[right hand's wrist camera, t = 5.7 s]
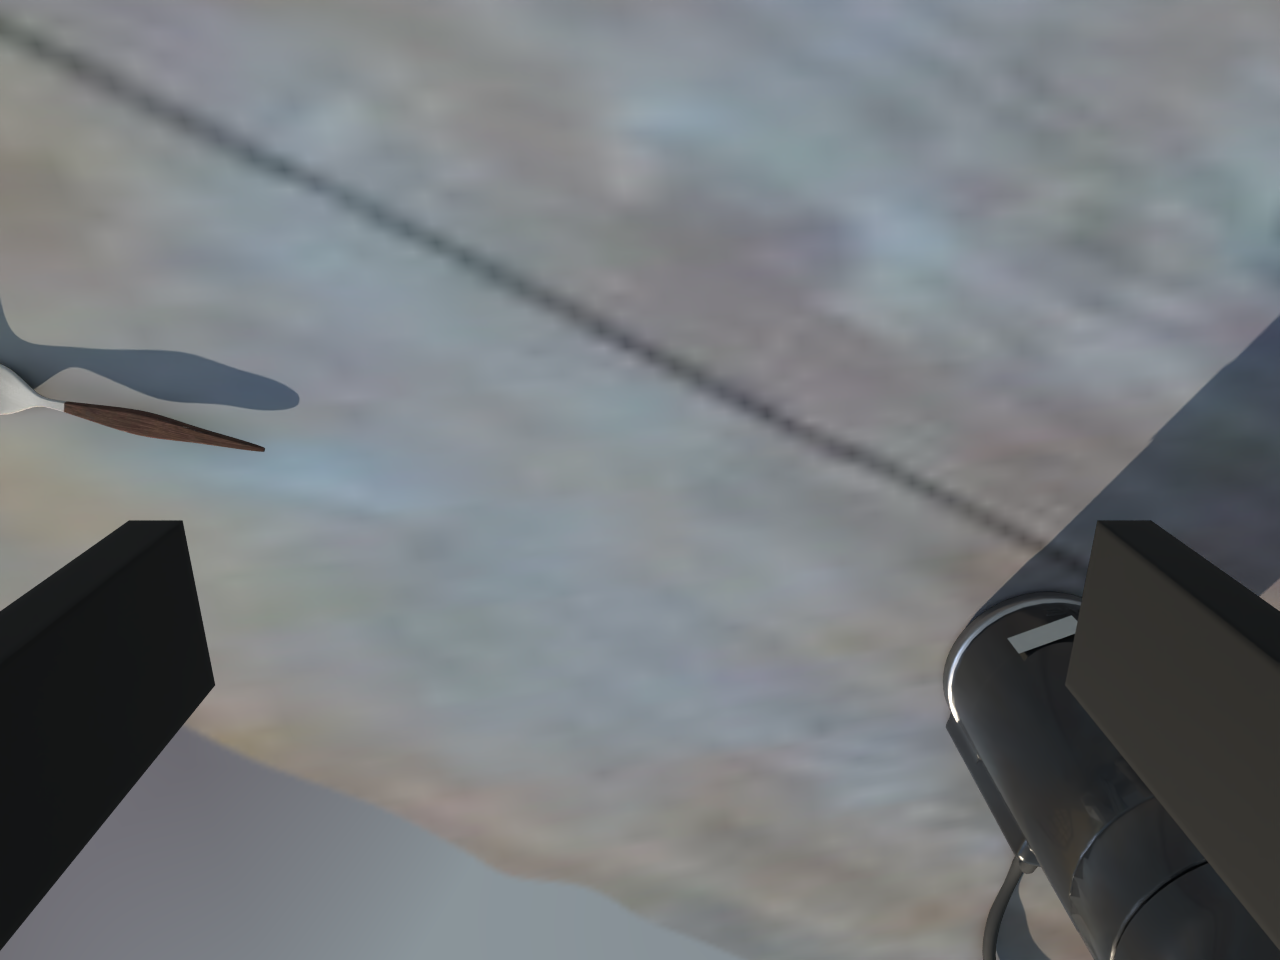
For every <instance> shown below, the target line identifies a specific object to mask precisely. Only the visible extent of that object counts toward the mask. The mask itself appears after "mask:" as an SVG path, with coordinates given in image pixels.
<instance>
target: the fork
mask: <svg viewBox="0 0 1280 960" xmlns="http://www.w3.org/2000/svg"><path fill="white" fill-rule="evenodd" d="M37 406H42V407H48V408H52V409H56V410H59V411H63V412H66V413H69V414H72V415H75V416H78V417H81V418H84V419H87V420H90V421H93V422H96V423H99V424H102V425H105V426H108V427H111V428H115V429H118V430H121V431H124V432H128V433H132V434H136V435H140V436H146V437H152V438H159V439H167V440H175V441H184V442H192V443H200V444H207V445H214V446H221V447H228V448H235V449H243V450H251V451H261V452H264V451H265V448H264V447H261V446H259V445H256V444H252V443H249V442H246V441H243V440H239V439H236V438H233V437H229V436H226V435H222V434H219V433H215V432H212V431H208V430H205V429H202V428H198V427H195V426H192V425H189V424H186V423H183V422H180V421H177V420H174V419H170V418H167V417H164V416H161V415H157V414H153V413H150V412H145V411H140V410H134V409H127V408H120V407H111V406H103V405H94V404H85V403H75V402H67V401H59V400H53V399H49V398H46V397H44V396H42V395H40V394H38V393H37V392H36V391H35V390H33V389H32V388H31V387H30V386H29V385H28V384H27V383H26V382H25V381H24V380H23V379H22V378H21V377H19V376H18V375H17V374H16V373H15V372H14V371H12V370H11V369H9V368H8V367H6V366H4V365H2V364H0V415H4V414H12V413H16V412H19V411H22V410H25V409H28V408H32V407H37Z"/></svg>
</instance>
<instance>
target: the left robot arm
mask: <svg viewBox="0 0 1280 960" xmlns="http://www.w3.org/2000/svg"><path fill="white" fill-rule="evenodd" d="M1081 601H1082V598H1081V597H1078V596H1074V595H1070V594H1066V593H1058V592H1037V593H1030V594H1025V595H1021V596H1017V597H1014V598H1011V599H1008V600H1006V601H1003V602H1001V603H999V604H997V605H995V606H993V607H991V608H990V609H988V610H987V611H985V612H984V613H982V614H981V615H979V616H978V617H977V618H976V619H975V620H973V621H972V622H971V623H970V624H969V625H968V626H967V627H966V628H965V629H964V630H963V632H962V633H961V634H960V635H959V637H958V638H957V640H956V641H955V643H954V645H953V646H952V648H951V650H950V652H949V655H948V657H947V660H946V664H945V668H944V674H943V689H944V695H945V699H946V702H947V704H948V707H949V709H950V711H951V714H950V718H949V720H948V722H947V724H946V729H947V730H948V732H949V734H950V736H951V738H952V740H953V742H954V743H955V745H956V747H957V749H958V751H959V753H960V755H961V756H962V758H963V760H964V762H965V764H966V766H967V767H968V769H969V771H970V773H971V775H972V777H973V779H974V780H975V782H976V784H977V786H978V788H979V790H980V792H981V793H982V795H983V797H984V799H985V801H986V803H987V805H988V806H989V808H990V810H991V812H992V814H993V816H994V818H995V819H996V821H997V823H998V825H999V827H1000V829H1001V831H1002V832H1003V834H1004V836H1005V838H1006V840H1007V842H1008V844H1009V845H1010V847H1011V849H1012V851H1013V853H1014V855H1015V858H1014V859H1013V861H1012V865H1011V867H1010V870H1009V872H1008V875H1007V877H1006V879H1005V882H1004V884H1003V886H1002V887H1001V889H1000V891H999V893H998V895H997V897H996V899H995V901H994V903H993V905H992V907H991V910H990V912H989V916H988V919H987V923H986V927H985V932H984V938H983V960H996V942H997V936H998V931H999V927H1000V924H1001V920H1002V917H1003V914H1004V911H1005V909H1006V906H1007V904H1008V901H1009V899H1010V897H1011V894H1012V892H1013V890H1014V888H1015V886H1016V884H1017V882H1018V880H1019V878H1020V877H1021V875H1022V873H1023V872H1024V873H1026V874H1030V873H1032V872H1034V870H1035V869H1036V868H1037V867H1038V866H1039V867H1041V868H1042V869H1043V871H1044V873H1045V875H1046V876H1047V878H1048V880H1049V882H1050V884H1051V885H1052V887H1053V889H1054V891H1055V892H1056V894H1057V896H1058V898H1059V899H1060V901H1061V903H1062V905H1063V906H1064V908H1065V910H1066V912H1067V913H1068V915H1069V917H1070V919H1071V921H1072V922H1073V924H1074V926H1075V928H1076V929H1077V931H1078V932H1079V934H1080V936H1081V938H1082V939H1083V941H1084V943H1085V945H1086V946H1087V948H1088V950H1089V952H1090V953H1091V955H1092V957H1093V959H1094V960H1280V950H1279V949H1278V948H1277V947H1276V945H1275V944H1274V943H1273V942H1272V940H1271V939H1270V938H1269V937H1268V935H1267V934H1266V933H1265V932H1264V931H1263V929H1262V928H1261V927H1260V926H1259V924H1258V923H1257V922H1256V921H1255V919H1254V918H1253V917H1252V916H1251V914H1250V913H1249V912H1248V911H1247V910H1246V908H1245V907H1244V906H1243V905H1242V903H1241V902H1240V901H1239V900H1238V898H1237V897H1236V896H1235V895H1234V893H1233V892H1232V891H1231V890H1230V889H1229V887H1228V886H1227V885H1226V884H1225V882H1224V881H1223V880H1222V879H1221V877H1220V876H1219V875H1218V874H1217V872H1216V871H1215V870H1214V869H1213V868H1212V866H1211V865H1210V864H1209V863H1208V861H1207V860H1206V859H1205V858H1204V856H1203V855H1202V854H1201V853H1200V851H1199V850H1198V849H1197V848H1196V847H1195V845H1194V844H1193V843H1192V842H1191V840H1190V839H1189V838H1188V837H1187V835H1186V834H1185V833H1184V832H1183V830H1182V829H1181V828H1180V827H1179V826H1178V824H1177V823H1176V822H1175V821H1174V819H1173V818H1172V817H1171V816H1170V814H1169V813H1168V812H1167V811H1166V809H1165V808H1164V807H1163V806H1162V805H1161V803H1160V802H1159V801H1158V800H1157V798H1156V797H1155V796H1154V795H1153V793H1152V792H1151V791H1150V790H1149V788H1148V787H1147V786H1146V785H1145V784H1144V782H1143V781H1142V780H1141V779H1140V777H1139V776H1138V775H1137V774H1136V772H1135V771H1134V770H1133V769H1132V767H1131V766H1130V765H1129V764H1128V762H1127V761H1126V760H1125V759H1124V758H1123V756H1122V755H1121V754H1120V753H1119V751H1118V750H1117V749H1116V748H1115V746H1114V745H1113V744H1112V743H1111V741H1110V740H1109V739H1108V738H1107V737H1106V735H1105V734H1104V733H1103V732H1102V730H1101V729H1100V728H1099V727H1098V725H1097V724H1096V723H1095V722H1094V720H1093V719H1092V718H1091V717H1090V716H1089V714H1088V713H1087V712H1086V711H1085V709H1084V708H1083V707H1082V706H1081V704H1080V703H1079V702H1078V701H1077V699H1076V698H1075V697H1074V696H1073V695H1072V693H1071V692H1070V691H1069V690H1068V688H1067V687H1066V686H1065V682H1066V677H1067V672H1068V667H1069V662H1070V657H1071V652H1072V647H1073V642H1074V637H1075V632H1076V626H1077V621H1078V616H1079V611H1080V606H1081Z"/></svg>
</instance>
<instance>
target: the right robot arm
mask: <svg viewBox="0 0 1280 960" xmlns="http://www.w3.org/2000/svg"><path fill="white" fill-rule="evenodd" d="M214 686H215V682H214V677H213V672H212V667H211V662H210V657H209V652H208V647H207V642H206V637H205V632H204V626H203V621H202V616H201V611H200V606H199V601H198V596H197V591H196V586H195V581H194V576H193V571H192V566H191V561H190V556H189V551H188V546H187V541H186V536H185V531H184V526H183V521H128V522H126V523H125V524H124V525H122V526H121V527H119V528H118V529H116V530H115V531H114V532H112V533H111V534H109V535H108V536H107V537H105V538H104V539H102V540H101V541H99V542H98V543H97V544H95V545H94V546H92V547H91V548H89V549H88V550H87V551H85V552H84V553H82V554H81V555H80V556H78V557H77V558H75V559H74V560H72V561H71V562H70V563H68V564H67V565H65V566H64V567H63V568H61V569H60V570H58V571H57V572H55V573H54V574H53V575H51V576H50V577H48V578H47V579H46V580H44V581H43V582H41V583H40V584H38V585H37V586H36V587H34V588H33V589H31V590H30V591H29V592H27V593H26V594H24V595H23V596H21V597H20V598H19V599H17V600H16V601H14V602H13V603H12V604H10V605H9V606H7V607H6V608H4V609H3V610H2V611H0V950H1V949H2V948H3V947H4V945H5V944H6V943H7V942H8V940H9V939H10V938H11V937H12V935H13V934H14V933H15V932H16V930H17V929H18V928H19V927H20V926H21V924H22V923H23V922H24V921H25V919H26V918H27V917H28V916H29V914H30V913H31V912H32V911H33V910H34V908H35V907H36V906H37V905H38V903H39V902H40V901H41V900H42V898H43V897H44V896H45V895H46V893H47V892H48V891H49V890H50V888H51V887H52V886H53V885H54V884H55V882H56V881H57V880H58V879H59V877H60V876H61V875H62V874H63V872H64V871H65V870H66V869H67V867H68V866H69V865H70V864H71V862H72V861H73V860H74V859H75V858H76V856H77V855H78V854H79V853H80V851H81V850H82V849H83V848H84V846H85V845H86V844H87V843H88V842H89V840H90V839H91V838H92V837H93V835H94V834H95V833H96V832H97V830H98V829H99V828H100V827H101V825H102V824H103V823H104V822H105V821H106V819H107V818H108V817H109V816H110V814H111V813H112V812H113V811H114V809H115V808H116V807H117V806H118V804H119V803H120V802H121V801H122V800H123V798H124V797H125V796H126V795H127V793H128V792H129V791H130V790H131V788H132V787H133V786H134V785H135V784H136V782H137V781H138V780H139V779H140V777H141V776H142V775H143V774H144V772H145V771H146V770H147V769H148V767H149V766H150V765H151V764H152V762H153V761H154V760H155V759H156V758H157V756H158V755H159V754H160V753H161V751H162V750H163V749H164V748H165V746H166V745H167V744H168V743H169V741H170V740H171V739H172V738H173V737H174V735H175V734H176V733H177V732H178V730H179V729H180V728H181V727H182V725H183V724H184V723H185V722H186V720H187V719H188V718H189V717H190V716H191V714H192V713H193V712H194V711H195V709H196V708H197V707H198V706H199V704H200V703H201V702H202V701H203V699H204V698H205V697H206V696H207V695H208V693H209V692H210V691H211V690H212V688H213V687H214ZM1065 686H1066V687H1067V688H1068V690H1069V691H1070V692H1071V693H1072V695H1073V696H1074V697H1075V698H1076V699H1077V701H1078V702H1079V703H1080V704H1081V706H1082V707H1083V708H1084V709H1085V711H1086V712H1087V713H1088V714H1089V716H1090V717H1091V718H1092V719H1093V720H1094V722H1095V723H1096V724H1097V725H1098V727H1099V728H1100V729H1101V730H1102V732H1103V733H1104V734H1105V735H1106V737H1107V738H1108V739H1109V740H1110V741H1111V743H1112V744H1113V745H1114V746H1115V748H1116V749H1117V750H1118V751H1119V753H1120V754H1121V755H1122V756H1123V758H1124V759H1125V760H1126V761H1127V762H1128V764H1129V765H1130V766H1131V767H1132V769H1133V770H1134V771H1135V772H1136V774H1137V775H1138V776H1139V777H1140V779H1141V780H1142V781H1143V782H1144V784H1145V785H1146V786H1147V787H1148V788H1149V790H1150V791H1151V792H1152V793H1153V795H1154V796H1155V797H1156V798H1157V800H1158V801H1159V802H1160V803H1161V805H1162V806H1163V807H1164V808H1165V809H1166V811H1167V812H1168V813H1169V814H1170V816H1171V817H1172V818H1173V819H1174V821H1175V822H1176V823H1177V824H1178V826H1179V827H1180V828H1181V829H1182V830H1183V832H1184V833H1185V834H1186V835H1187V837H1188V838H1189V839H1190V840H1191V842H1192V843H1193V844H1194V845H1195V847H1196V848H1197V849H1198V850H1199V851H1200V853H1201V854H1202V855H1203V856H1204V858H1205V859H1206V860H1207V861H1208V863H1209V864H1210V865H1211V866H1212V868H1213V869H1214V870H1215V871H1216V872H1217V874H1218V875H1219V876H1220V877H1221V879H1222V880H1223V881H1224V882H1225V884H1226V885H1227V886H1228V887H1229V889H1230V890H1231V891H1232V892H1233V893H1234V895H1235V896H1236V897H1237V898H1238V900H1239V901H1240V902H1241V903H1242V905H1243V906H1244V907H1245V908H1246V910H1247V911H1248V912H1249V913H1250V914H1251V916H1252V917H1253V918H1254V919H1255V921H1256V922H1257V923H1258V924H1259V926H1260V927H1261V928H1262V929H1263V931H1264V932H1265V933H1266V934H1267V935H1268V937H1269V938H1270V939H1271V940H1272V942H1273V943H1274V944H1275V945H1276V947H1277V948H1278V949H1279V950H1280V611H1278V610H1277V609H1276V608H1274V607H1273V606H1271V605H1270V604H1268V603H1267V602H1266V601H1264V600H1263V599H1261V598H1260V597H1259V596H1257V595H1256V594H1254V593H1253V592H1251V591H1250V590H1249V589H1247V588H1246V587H1244V586H1243V585H1242V584H1240V583H1239V582H1237V581H1236V580H1234V579H1233V578H1232V577H1230V576H1229V575H1227V574H1226V573H1225V572H1223V571H1222V570H1220V569H1219V568H1217V567H1216V566H1215V565H1213V564H1212V563H1210V562H1209V561H1208V560H1206V559H1205V558H1203V557H1202V556H1200V555H1199V554H1198V553H1196V552H1195V551H1193V550H1192V549H1191V548H1189V547H1188V546H1186V545H1185V544H1183V543H1182V542H1181V541H1179V540H1178V539H1176V538H1175V537H1173V536H1172V535H1171V534H1169V533H1168V532H1166V531H1165V530H1164V529H1162V528H1161V527H1159V526H1158V525H1156V524H1155V523H1154V522H1152V521H1097V526H1096V531H1095V536H1094V541H1093V546H1092V551H1091V556H1090V561H1089V566H1088V571H1087V576H1086V581H1085V586H1084V591H1083V596H1082V601H1081V606H1080V611H1079V616H1078V621H1077V626H1076V632H1075V637H1074V642H1073V647H1072V652H1071V657H1070V662H1069V667H1068V672H1067V677H1066V682H1065Z"/></svg>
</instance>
